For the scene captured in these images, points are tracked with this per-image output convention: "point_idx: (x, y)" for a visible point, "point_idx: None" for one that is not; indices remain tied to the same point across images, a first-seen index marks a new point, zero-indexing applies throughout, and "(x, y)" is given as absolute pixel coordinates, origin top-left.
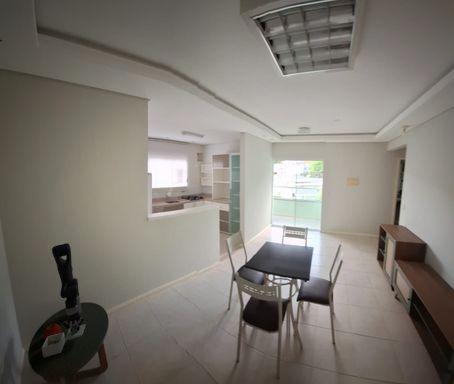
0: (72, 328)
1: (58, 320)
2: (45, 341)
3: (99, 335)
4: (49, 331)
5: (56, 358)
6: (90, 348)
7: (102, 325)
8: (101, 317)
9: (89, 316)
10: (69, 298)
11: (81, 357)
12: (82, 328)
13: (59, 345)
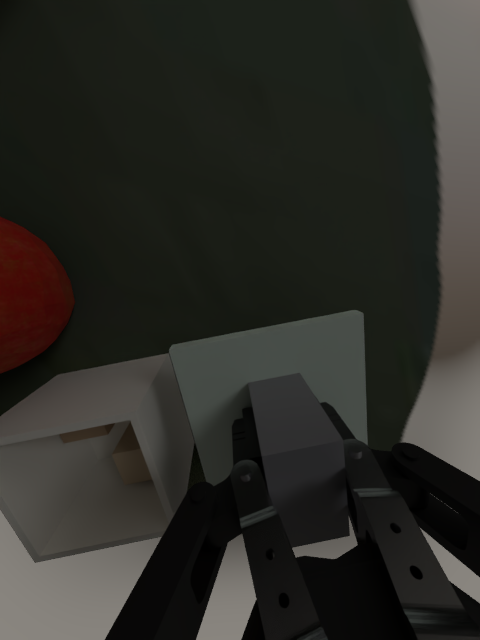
0: (292, 540)
1: None
2: (2, 502)
3: (417, 343)
4: None
5: (191, 474)
6: (377, 438)
7: (428, 229)
8: (404, 82)
9: (254, 6)
10: None
11: None
12: (347, 387)
13: None
